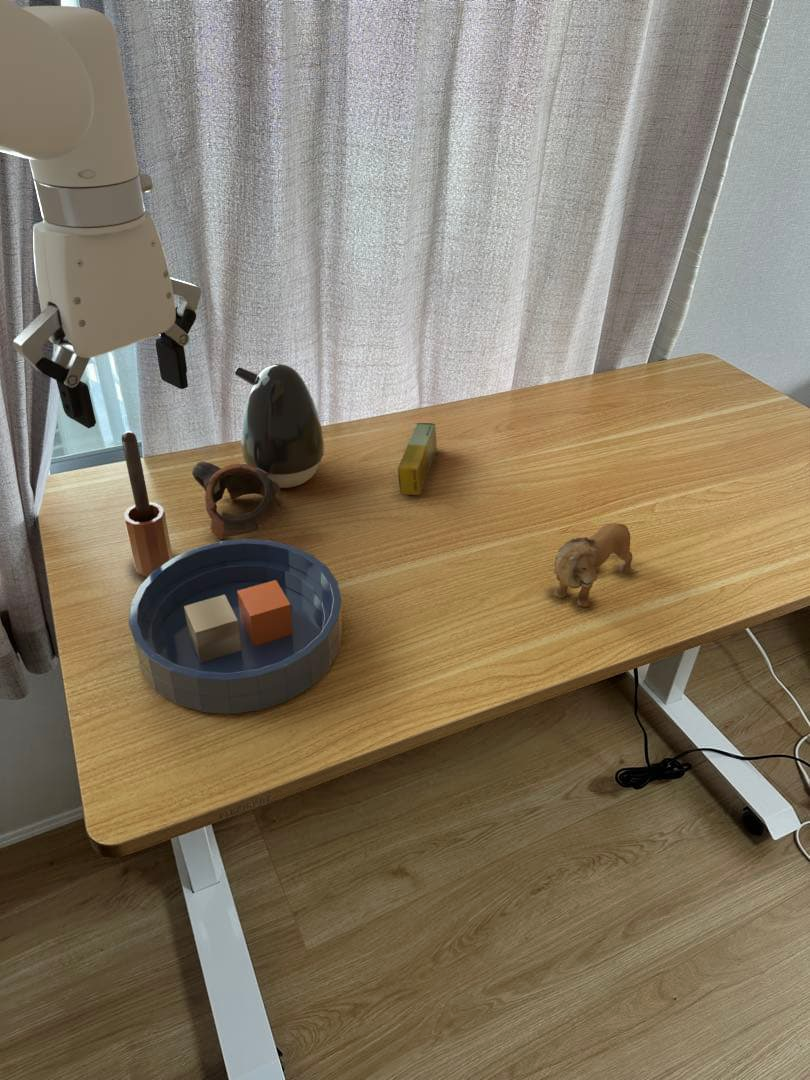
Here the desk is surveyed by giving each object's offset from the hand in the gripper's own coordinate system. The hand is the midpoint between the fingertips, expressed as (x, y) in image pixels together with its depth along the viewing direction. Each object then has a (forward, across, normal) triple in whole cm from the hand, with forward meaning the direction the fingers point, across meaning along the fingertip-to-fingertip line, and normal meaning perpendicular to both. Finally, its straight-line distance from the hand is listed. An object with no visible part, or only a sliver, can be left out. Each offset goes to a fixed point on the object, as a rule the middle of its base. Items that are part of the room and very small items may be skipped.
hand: (130, 402), depth 72 cm
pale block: (+21, +2, +11) cm, 24 cm away
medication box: (+22, -36, +6) cm, 42 cm away
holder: (+22, -1, -4) cm, 22 cm away
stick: (+21, -1, -4) cm, 22 cm away
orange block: (+21, -2, +13) cm, 25 cm away
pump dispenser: (+22, -23, -6) cm, 33 cm away
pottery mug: (+22, -14, -4) cm, 26 cm away
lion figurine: (+22, -30, +34) cm, 50 cm away
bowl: (+22, 0, +12) cm, 25 cm away
